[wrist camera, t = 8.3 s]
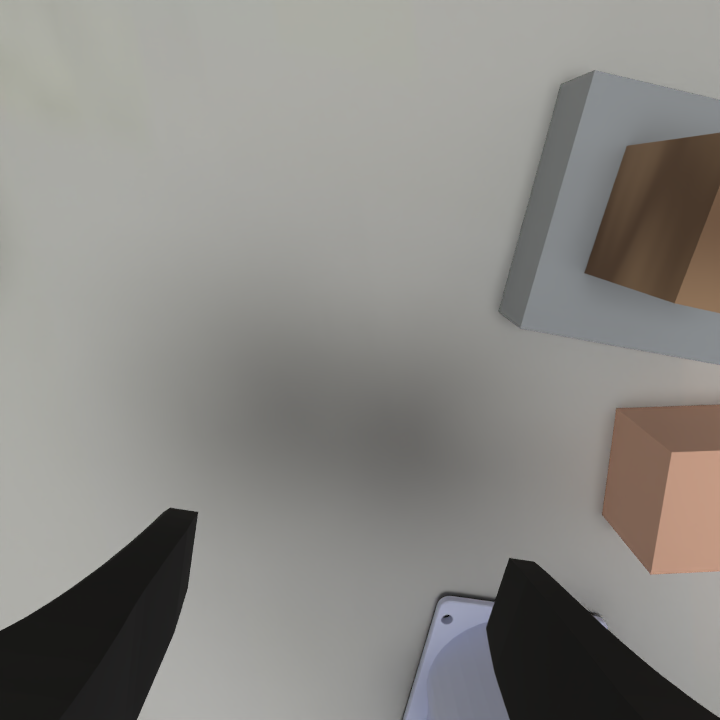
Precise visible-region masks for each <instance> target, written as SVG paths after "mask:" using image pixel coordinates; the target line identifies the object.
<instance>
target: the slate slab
mask: <svg viewBox="0 0 720 720" xmlns="http://www.w3.org/2000/svg"><path fill="white" fill-rule="evenodd" d="M714 133H720V100H718V99H714V98H710V97H706V96H701V95H697V94H693V93H689V92H685V91H680V90H676V89H672V88H668V87H664V86H659V85H655V84H651V83H647V82H643V81H638V80H634V79H630V78H626V77H622V76H617V75H613V74H609V73H605V72H601V71H596V70H594V71H592V72H589V73H587V74H585V75H582V76H580V77H577V78H575V79H573V80H570V81H568V82H565V83H563V84H561V86H560V89H559V93H558V97H557V100H556V104H555V107H554V111H553V115H552V118H551V122H550V126H549V129H548V133H547V137H546V140H545V144H544V148H543V151H542V155H541V158H540V162H539V166H538V169H537V173H536V177H535V180H534V184H533V188H532V191H531V195H530V199H529V202H528V206H527V210H526V213H525V217H524V220H523V224H522V228H521V231H520V235H519V239H518V242H517V246H516V250H515V253H514V257H513V261H512V264H511V268H510V271H509V275H508V279H507V282H506V286H505V290H504V293H503V297H502V301H501V304H500V308H499V312H500V313H501V314H502V315H503V316H505V317H506V318H507V319H509V320H510V321H511V322H512V323H514V324H515V325H516V326H518V327H519V328H520V329H526V330H531V331H537V332H542V333H548V334H553V335H559V336H564V337H569V338H575V339H580V340H586V341H591V342H597V343H602V344H608V345H613V346H619V347H624V348H630V349H635V350H641V351H646V352H652V353H657V354H662V355H668V356H673V357H679V358H684V359H690V360H695V361H701V362H706V363H712V364H717V365H720V313H716V312H712V311H707V310H702V309H698V308H693V307H689V306H684V305H680V304H675V303H672V302H669V301H666V300H663V299H660V298H657V297H654V296H651V295H648V294H645V293H642V292H639V291H636V290H633V289H630V288H627V287H624V286H621V285H618V284H615V283H612V282H609V281H606V280H603V279H600V278H597V277H594V276H591V275H588V274H585V270H586V267H587V264H588V261H589V258H590V255H591V252H592V249H593V246H594V243H595V239H596V236H597V233H598V230H599V227H600V224H601V221H602V218H603V215H604V212H605V209H606V206H607V203H608V200H609V197H610V194H611V191H612V188H613V185H614V182H615V179H616V176H617V173H618V170H619V167H620V164H621V161H622V158H623V156H624V153H625V150H626V147H627V146H629V145H636V144H643V143H650V142H657V141H664V140H671V139H678V138H685V137H692V136H699V135H706V134H714Z"/></svg>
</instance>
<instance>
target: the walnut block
mask: <svg viewBox="0 0 720 720" xmlns="http://www.w3.org/2000/svg"><path fill="white" fill-rule="evenodd" d="M585 274H588V275H591V276H594V277H597V278H600V279H603V280H606V281H609V282H612V283H615V284H618V285H621V286H624V287H627V288H630V289H633V290H636V291H639V292H642V293H645V294H648V295H651V296H654V297H657V298H660V299H663V300H666V301H669V302H672V303H675V304H680V305H684V306H689V307H693V308H698V309H702V310H707V311H712V312H716V313H720V133H714V134H706V135H699V136H692V137H685V138H678V139H671V140H664V141H657V142H650V143H643V144H636V145H629V146H627V147H626V150H625V153H624V156H623V158H622V161H621V164H620V167H619V170H618V173H617V176H616V179H615V182H614V185H613V188H612V191H611V194H610V197H609V200H608V203H607V206H606V209H605V212H604V215H603V218H602V221H601V224H600V227H599V230H598V233H597V236H596V239H595V243H594V246H593V249H592V252H591V255H590V258H589V261H588V264H587V267H586V270H585Z"/></svg>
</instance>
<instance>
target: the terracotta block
mask: <svg viewBox="0 0 720 720" xmlns="http://www.w3.org/2000/svg"><path fill="white" fill-rule="evenodd" d="M602 515H603V516H604V517H605V519H606V520H607V521H608V522H609V524H610V525H611V526H612V527H613V529H614V530H615V531H616V532H617V533H618V535H619V536H620V537H621V538H622V540H623V541H624V542H625V543H626V545H627V546H628V547H629V548H630V550H631V551H632V552H633V553H634V554H635V556H636V557H637V558H638V559H639V561H640V562H641V563H642V564H643V566H644V567H645V568H646V569H647V570H648V572H649V573H650V574H671V573H692V572H713V571H720V405H697V406H668V407H640V408H616V415H615V423H614V430H613V438H612V445H611V453H610V460H609V468H608V475H607V482H606V490H605V497H604V505H603V512H602Z"/></svg>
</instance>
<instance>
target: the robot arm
mask: <svg viewBox="0 0 720 720" xmlns="http://www.w3.org/2000/svg"><path fill="white" fill-rule="evenodd" d="M197 516H198V512H194V511H188V510H181V509H174V508H169V509H168V510H166V511H164V512H163V513H162V514H161V515H160V516H159V517H158V518H157V519H156V520H155V521H154V522H153V523H152V524H151V525H149V526H148V527H147V528H146V529H145V530H144V531H143V532H142V533H141V534H139V535H138V536H137V537H136V538H135V539H134V540H133V541H131V542H130V543H129V544H128V545H127V546H125V547H124V548H123V549H122V550H121V551H119V552H118V553H117V554H116V555H115V556H113V557H112V558H111V559H110V560H108V561H107V562H106V563H105V564H103V565H102V566H101V567H99V568H98V569H97V570H95V571H94V572H93V573H91V574H90V575H89V576H87V577H86V578H84V579H83V580H82V581H80V582H79V583H78V584H76V585H75V586H74V587H72V588H71V589H69V590H68V591H66V592H65V593H63V594H62V595H60V596H59V597H57V598H56V599H54V600H53V601H51V602H50V603H48V604H47V605H45V606H43V607H42V608H40V609H38V610H37V611H35V612H34V613H32V614H30V615H29V616H27V617H25V618H24V619H22V620H20V621H18V622H16V623H14V624H12V625H11V626H9V627H7V628H5V629H3V630H1V631H0V720H137V718H138V716H139V713H140V711H141V709H142V706H143V704H144V702H145V699H146V697H147V695H148V693H149V690H150V688H151V686H152V683H153V681H154V679H155V676H156V674H157V672H158V669H159V667H160V665H161V662H162V660H163V658H164V655H165V653H166V651H167V648H168V646H169V644H170V641H171V639H172V636H173V634H174V631H175V628H176V625H177V622H178V619H179V615H180V612H181V609H182V605H183V602H184V599H185V595H186V592H187V589H188V582H189V574H190V567H191V560H192V552H193V545H194V538H195V530H196V523H197ZM445 615H450V616H449V617H447V618H443V616H445ZM403 720H720V718H719V717H717V716H716V715H714V714H713V713H712V712H710V711H709V710H707V709H706V708H704V707H703V706H702V705H700V704H699V703H697V702H696V701H695V700H693V699H692V698H691V697H689V696H688V695H687V694H685V693H684V692H683V691H681V690H680V689H679V688H677V687H676V686H675V685H673V684H672V683H671V682H669V681H668V680H667V679H665V678H664V677H663V676H662V675H660V674H659V673H658V672H657V671H655V670H654V669H653V668H652V667H650V666H649V665H648V664H647V663H646V662H644V661H643V660H642V659H641V658H640V657H639V656H637V655H636V654H635V653H634V652H633V651H631V650H630V649H629V648H628V647H627V646H626V645H624V644H623V643H622V642H621V641H620V640H619V639H618V638H617V637H615V636H614V635H613V634H612V633H611V632H610V631H609V630H608V627H607V624H606V623H605V621H604V620H603V619H602V618H601V617H598V616H592V615H591V614H590V613H589V612H588V611H587V610H586V609H585V608H584V607H583V606H582V605H581V604H580V603H579V602H578V601H577V600H576V599H574V598H573V597H572V596H571V595H570V594H569V593H568V592H567V591H566V590H565V589H564V588H563V587H562V586H561V585H560V584H559V583H558V582H557V581H555V580H554V579H553V578H552V577H551V576H550V575H549V574H548V573H547V572H546V571H545V570H543V569H542V568H541V567H540V566H539V565H537V564H536V563H535V562H532V561H525V560H519V559H512V558H509V561H508V564H507V567H506V570H505V573H504V576H503V579H502V582H501V584H500V587H499V590H498V593H497V596H496V599H495V602H491V601H484V600H477V599H470V598H463V597H456V596H445V597H443V598H441V599H440V600H439V602H438V604H437V607H436V610H435V614H434V617H433V620H432V624H431V627H430V630H429V634H428V637H427V640H426V644H425V647H424V650H423V654H422V657H421V660H420V664H419V667H418V670H417V674H416V677H415V680H414V684H413V687H412V690H411V694H410V697H409V700H408V704H407V707H406V711H405V714H404V717H403Z"/></svg>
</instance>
